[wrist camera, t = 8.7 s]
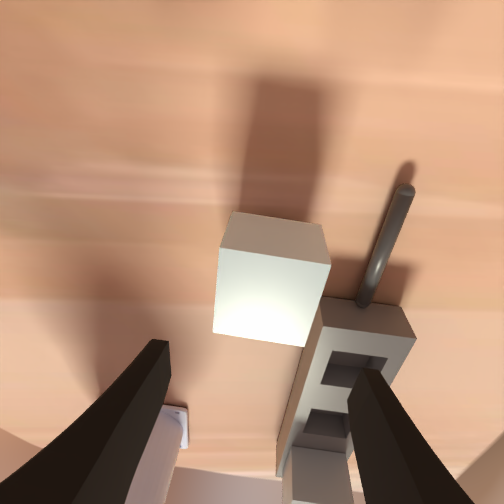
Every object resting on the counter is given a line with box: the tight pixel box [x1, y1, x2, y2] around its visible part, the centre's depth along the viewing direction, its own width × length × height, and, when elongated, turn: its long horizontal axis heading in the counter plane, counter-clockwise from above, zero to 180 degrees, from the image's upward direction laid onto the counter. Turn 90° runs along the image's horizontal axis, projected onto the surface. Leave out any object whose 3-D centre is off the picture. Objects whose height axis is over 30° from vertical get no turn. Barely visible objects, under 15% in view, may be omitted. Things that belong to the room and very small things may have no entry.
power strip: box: [276, 183, 417, 504], centre depth 22 cm, size 6×31×7 cm, turn 175°
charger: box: [213, 211, 331, 347], centre depth 17 cm, size 5×5×6 cm
